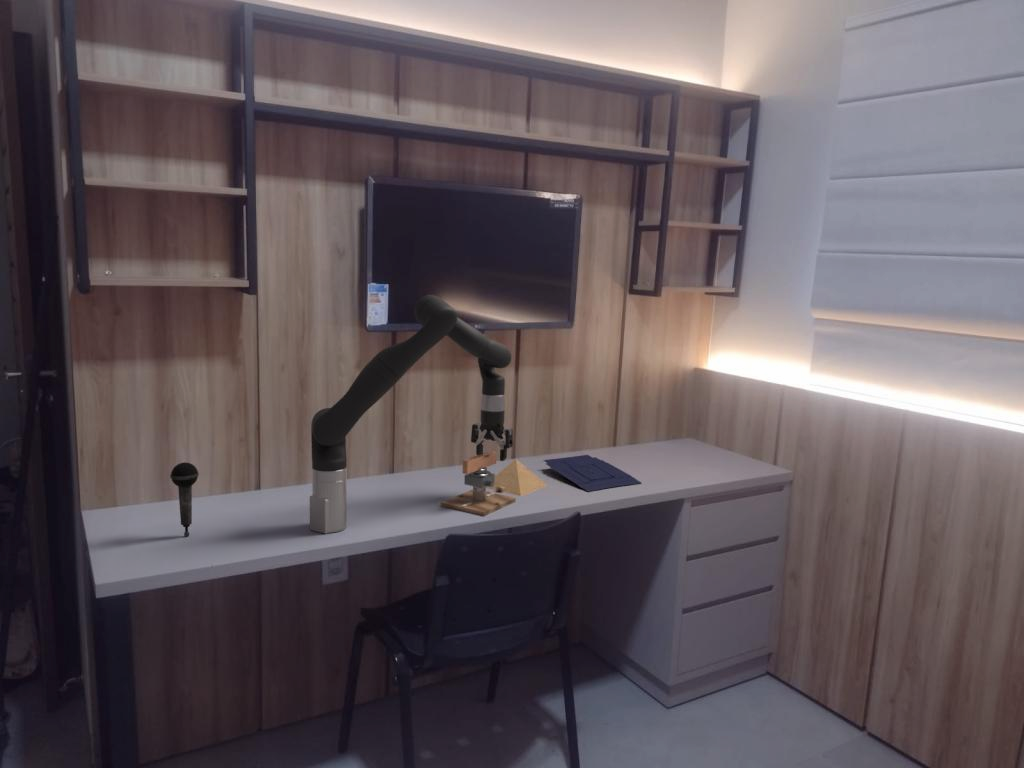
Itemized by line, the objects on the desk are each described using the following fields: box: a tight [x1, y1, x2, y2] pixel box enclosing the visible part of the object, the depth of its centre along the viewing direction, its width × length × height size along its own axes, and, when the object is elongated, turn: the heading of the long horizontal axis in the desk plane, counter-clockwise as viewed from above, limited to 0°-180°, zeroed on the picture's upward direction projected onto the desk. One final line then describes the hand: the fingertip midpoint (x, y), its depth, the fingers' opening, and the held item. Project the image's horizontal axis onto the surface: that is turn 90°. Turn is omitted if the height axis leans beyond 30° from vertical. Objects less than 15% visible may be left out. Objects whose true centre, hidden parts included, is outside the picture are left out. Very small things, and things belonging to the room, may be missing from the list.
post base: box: [440, 486, 517, 517], centre depth 232 cm, size 18×16×9 cm
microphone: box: [169, 462, 200, 537], centre depth 195 cm, size 7×7×20 cm
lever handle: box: [462, 450, 497, 488], centre depth 231 cm, size 10×16×9 cm, turn 148°
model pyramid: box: [486, 458, 548, 497], centre depth 252 cm, size 17×17×10 cm
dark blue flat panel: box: [543, 454, 642, 492], centre depth 267 cm, size 24×30×4 cm
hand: (491, 458), depth 236 cm, fingers open, 8 cm apart
